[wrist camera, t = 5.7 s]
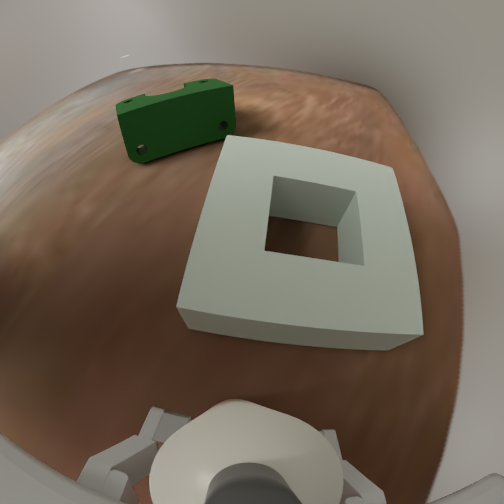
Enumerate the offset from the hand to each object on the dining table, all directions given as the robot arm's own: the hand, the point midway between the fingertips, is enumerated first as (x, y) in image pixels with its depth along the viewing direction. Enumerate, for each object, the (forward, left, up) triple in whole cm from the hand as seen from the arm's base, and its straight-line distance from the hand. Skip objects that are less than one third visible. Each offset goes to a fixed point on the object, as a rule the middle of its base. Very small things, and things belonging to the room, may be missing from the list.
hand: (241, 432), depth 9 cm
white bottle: (0, -1, -7) cm, 7 cm away
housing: (+3, +12, -7) cm, 14 cm away
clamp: (-11, +25, -7) cm, 28 cm away
